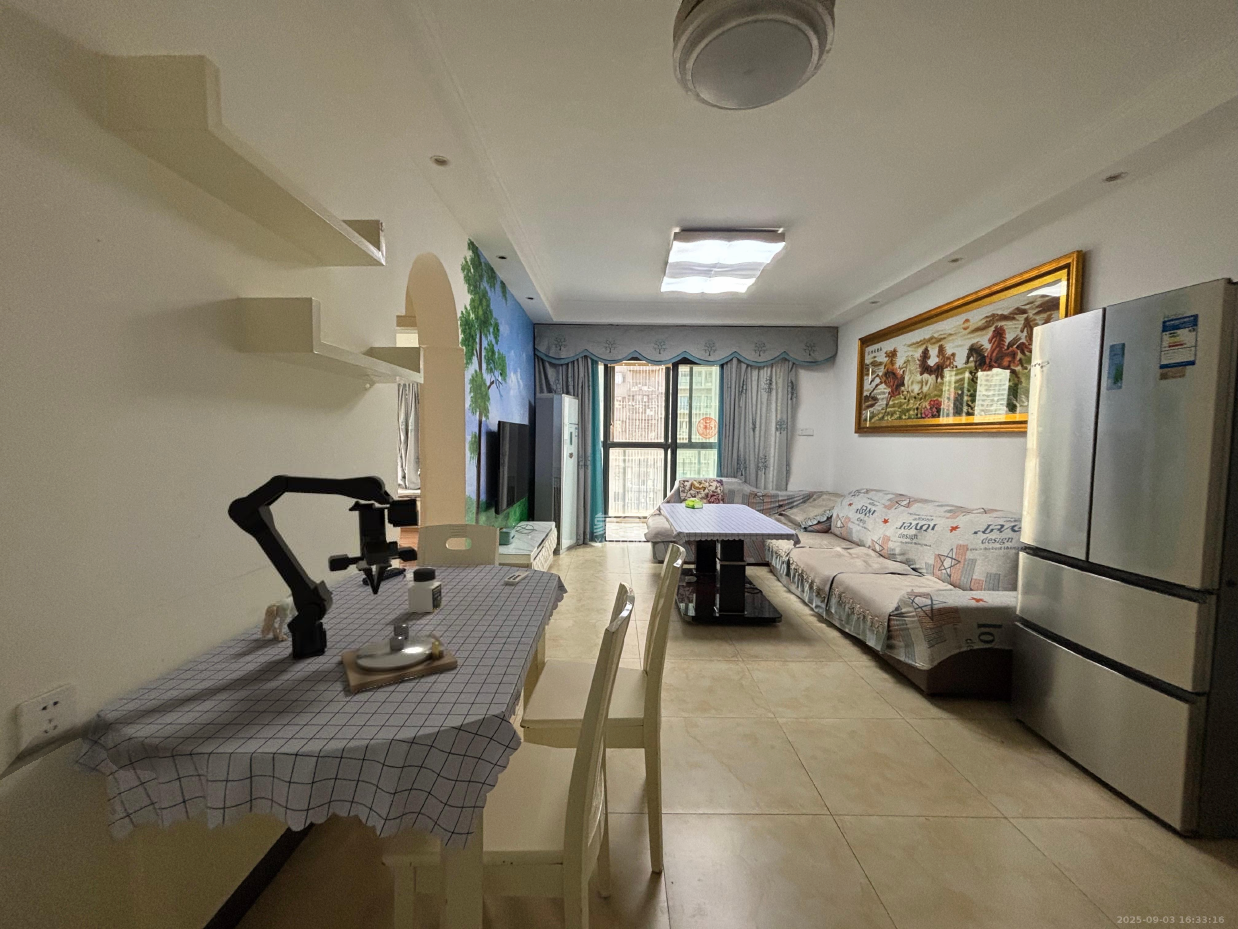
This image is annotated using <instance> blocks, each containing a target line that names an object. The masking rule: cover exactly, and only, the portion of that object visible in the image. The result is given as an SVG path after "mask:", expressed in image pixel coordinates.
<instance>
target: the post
mask: <svg viewBox="0 0 1238 929" xmlns="http://www.w3.org/2000/svg"><path fill="white" fill-rule="evenodd" d="M388 638H389V640H390V650H391V651H397V650H401V649H404V648H405V636H404V635H396V636H394V635H393V636H390V637H388Z"/></svg>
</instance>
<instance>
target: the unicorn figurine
mask: <svg viewBox="0 0 1238 929" xmlns="http://www.w3.org/2000/svg"><path fill="white" fill-rule="evenodd" d="M297 614H298V613H297V611H296V608H295V606H294V603H293V598H292V593H291V592H290V594H289V595H288V596H286V598H283V599H282V598H281V599H278V600H276V601H275V602H273V603H270V604H269V605H268V606H267V607H266V609H265V613H264V618H263V622H264V623H263V625H262V626H261V627H262V628H261V631H260V634H261V637H262V639H263V640H265V639H266V637H267V636H269V635H270V633H272V637H273V638H276V639H278V641H283V642H284V641H287V640H288V637H287V636H286V635H284V633H283V627H284V625H285V623H286V621H287V619H288V618H289V615H291V620H292V619H293V618H294V617H295V616H296V615H297ZM278 618H279V620H280V621H279V624H278V627H277V626H276V624H275V622H276V620H277V619H278Z"/></svg>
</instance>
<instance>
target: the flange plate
mask: <svg viewBox="0 0 1238 929" xmlns="http://www.w3.org/2000/svg"><path fill="white" fill-rule="evenodd" d="M409 626H410V624H409V623H408V622H399V623H396V624H394V625H393V636H396V635H404V636H405V648H404V649H401V650H397V651H391V650H390V640H389V638H390V637H388V638H385V639H380V640H377V641H374V642H372V643H370V644H368V645H364V646H363V647H362V649H361V648H360V649H361V650H359V651H358V652H357V654H356V664H357V666H358V667H359V668H361V669H364V670H369V671H389V670H397V669H402V668H407V667H410V666H414V665H417V664H419V663H422V662H424V661H426V660H428V659H430V658H431V657H432V642H436V640H435V639H433V638H431V637H427V636H424V635H419V634H418V635H416V634H415V635H413V634H411V635H410V628H409ZM447 649H448V646H447V645H445V646H439V657H444V656H445V655H446V654H447Z"/></svg>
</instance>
